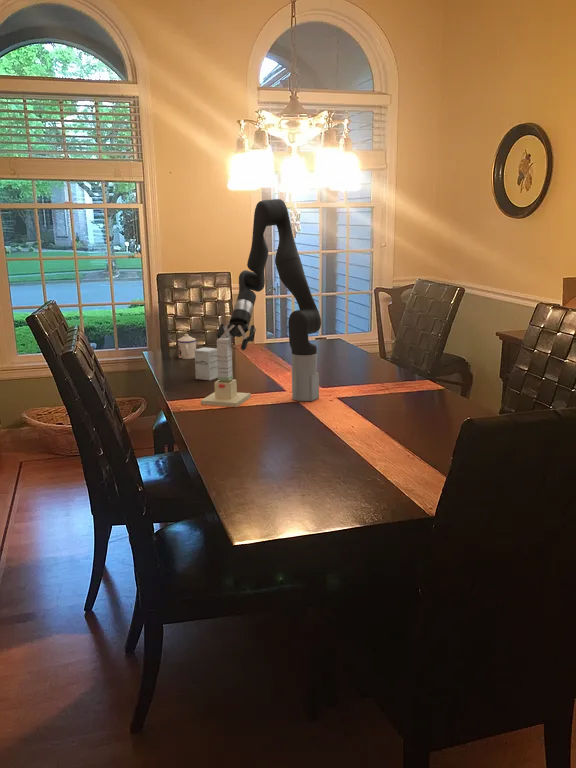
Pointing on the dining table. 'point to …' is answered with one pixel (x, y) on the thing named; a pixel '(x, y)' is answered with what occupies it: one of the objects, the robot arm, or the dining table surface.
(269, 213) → the robot arm
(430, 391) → the dining table surface
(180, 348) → the teacup with lid
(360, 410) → the dining table surface
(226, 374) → the column
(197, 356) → the supplement box
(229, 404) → the stand base
